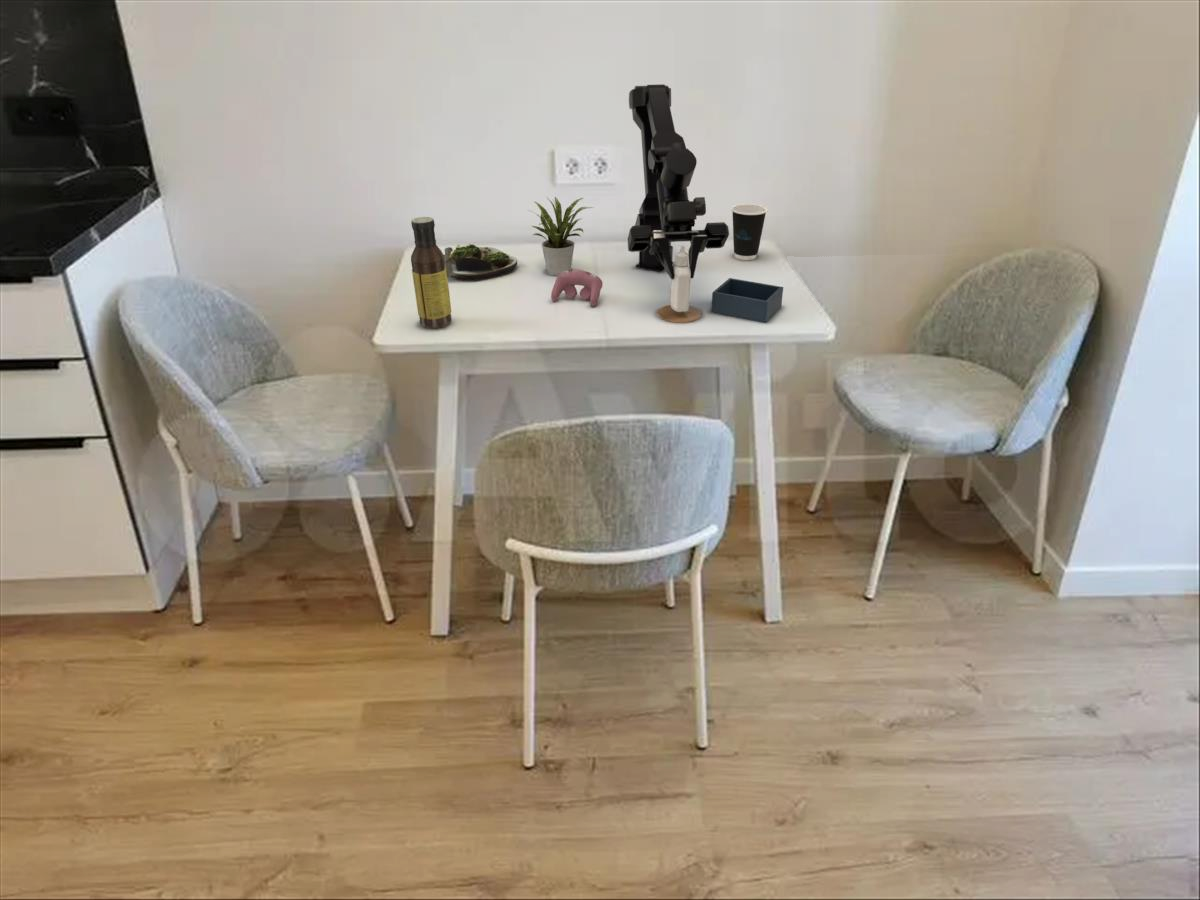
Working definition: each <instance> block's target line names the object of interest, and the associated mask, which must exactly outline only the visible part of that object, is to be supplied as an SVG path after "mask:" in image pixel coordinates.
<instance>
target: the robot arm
mask: <svg viewBox="0 0 1200 900" xmlns="http://www.w3.org/2000/svg"><path fill="white" fill-rule="evenodd" d="M671 107H672V88H671V87H669V85H666V84H663V83H662V84H646V85H634V88H632V89H631V90H630V91H629V93H628V108H629V110H631V113H632V120H633V122H634V123H635V125H636V126H637V127H638V128H639V130H640V136H641V150H642V164H643V167H642V168H643V180H644V194H645V195H644V196H645V197H644V198H643V201H642V203H641V205H640V206H639V209H638V213H637V216H636V219H635V224H634V225H632V226H631V228H630V229H629V231H628V236H627V249H628V250H627V251H628V252H631V253H634V252H636V253H637V252H638V263H636V264H635V268H636V269H642V270H648V271H653V272H654V271H655V272H660V273H661V272H664V271H666V273H667V275H668V276H669V278H670V280H672V279H674V269H673V266H674V265H673V264H674V261H673V257H674V255H673V252H674V246H673V245H672V242H673V243H674V242H675V243H676V242H689V243H690V246H689V248H688V252H687V253H688V254H689V258H688V266H689V268H690V271H691V279H694V277H695V272H696V268H697V263H698V258H699V255H700V254H701V253H704V252H705V250H706V249H721V248H723V247H725V244H726V242H727V240H728V238H729V235H730V229H729V225H727V223H725V222H724V221H722V222H721V221H720V222H706V223H705V227H704V229H694V230H693V228H694V227H695V225H696V221H697V217H703V216H705V215H706V213H707V206H706V205H707V204H706V198H705V196H699V197H698V196H697V197H696V196H695V198H693V200H690V199H689V193H688V187H689V186H690V185H691V181H692V179H693V175H694V172H695V170H696V167H697V164H698V163H697V161H698V160H697V157H696V156H695V154H694V153H693V151H691V150H689V148H687V146H686V143H685V139H684V137H683V136H681V134H679V133H677V132H676V129H675V124H674V120H673V115H672V111H671Z"/></svg>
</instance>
